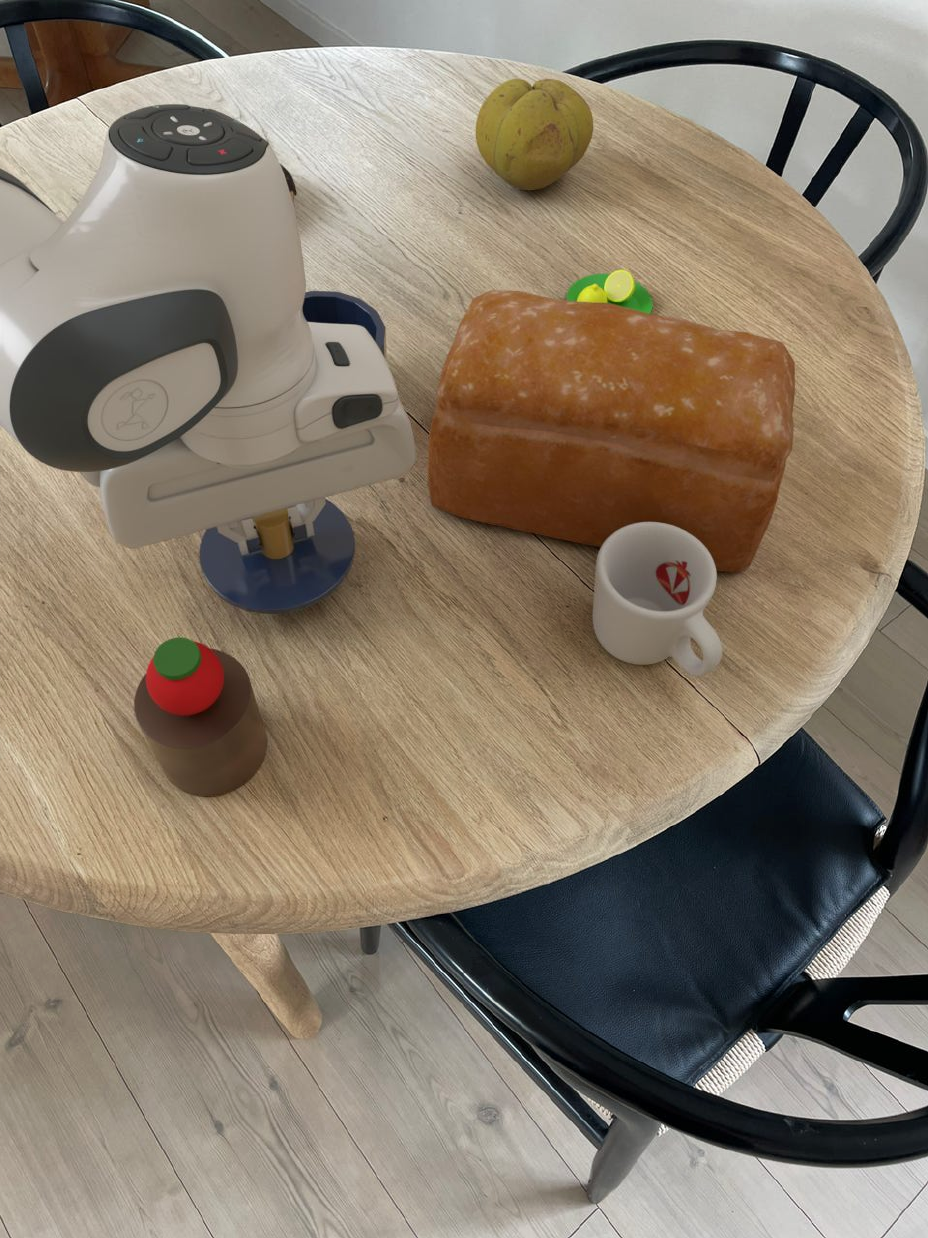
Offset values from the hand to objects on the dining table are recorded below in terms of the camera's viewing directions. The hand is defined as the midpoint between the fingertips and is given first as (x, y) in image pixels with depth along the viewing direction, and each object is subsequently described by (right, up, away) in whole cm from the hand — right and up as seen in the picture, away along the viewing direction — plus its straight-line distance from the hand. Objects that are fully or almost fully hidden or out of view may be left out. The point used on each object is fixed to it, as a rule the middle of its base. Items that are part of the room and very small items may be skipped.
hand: (276, 538), depth 69 cm
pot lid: (0, -1, +1) cm, 2 cm away
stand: (-3, -14, -4) cm, 15 cm away
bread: (+24, +5, +10) cm, 26 cm away
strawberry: (-3, -10, -10) cm, 15 cm away
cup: (+27, -8, +2) cm, 28 cm away
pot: (+2, +13, +14) cm, 19 cm away
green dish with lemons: (+27, +23, +23) cm, 42 cm away
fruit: (+20, +40, +34) cm, 56 cm away
